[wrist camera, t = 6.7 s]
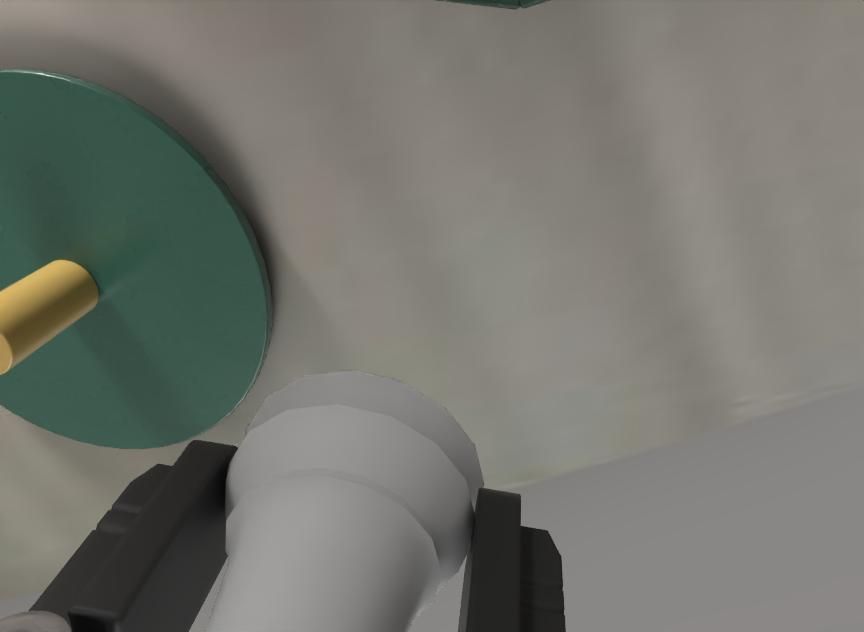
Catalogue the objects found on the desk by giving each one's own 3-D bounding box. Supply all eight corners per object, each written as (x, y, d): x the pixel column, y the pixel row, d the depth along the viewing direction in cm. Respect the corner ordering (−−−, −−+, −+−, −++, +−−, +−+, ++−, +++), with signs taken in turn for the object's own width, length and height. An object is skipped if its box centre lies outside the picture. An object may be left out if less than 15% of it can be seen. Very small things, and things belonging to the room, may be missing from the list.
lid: (-154, 41, 24) (-354, 57, 19) (275, 96, 23) (195, 130, 17) (-45, 403, 32) (-165, 490, 26) (280, 459, 31) (225, 562, 25)
